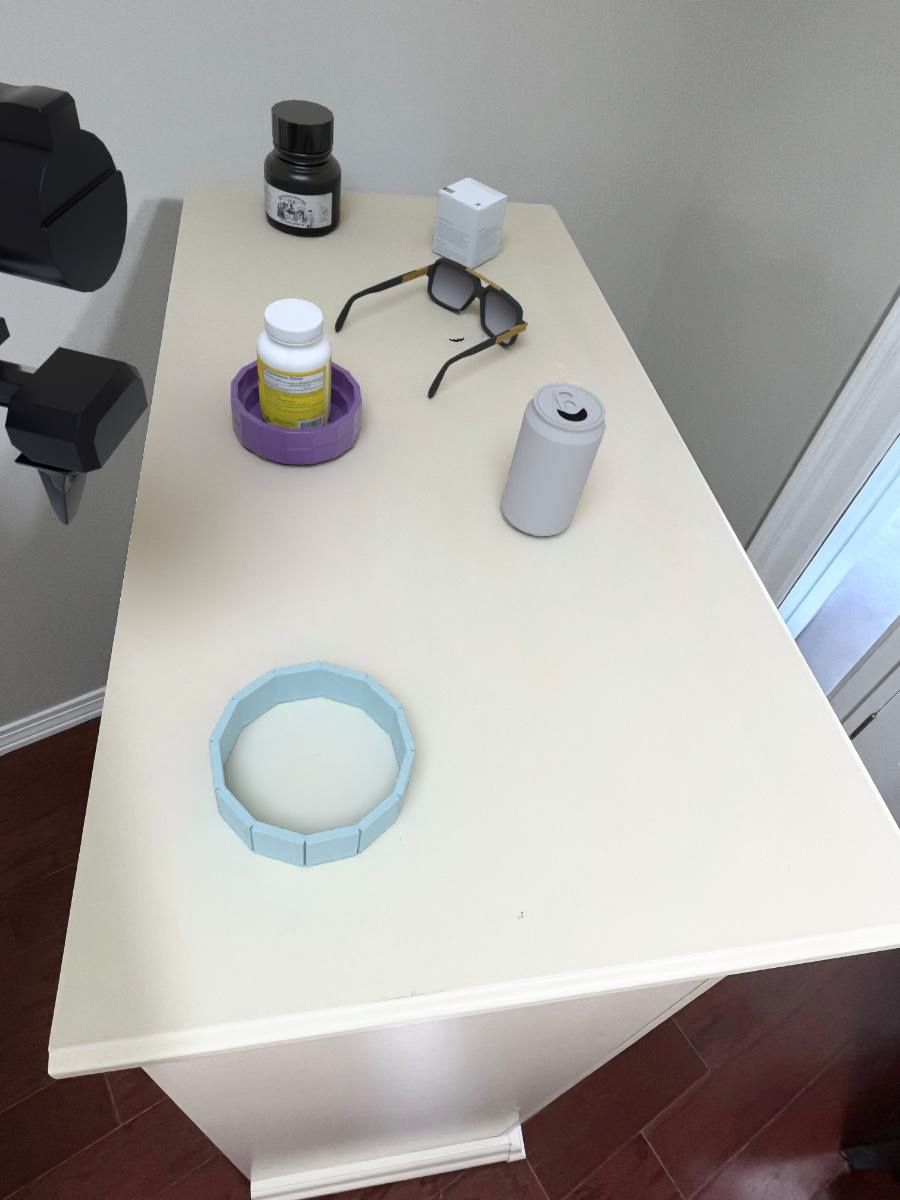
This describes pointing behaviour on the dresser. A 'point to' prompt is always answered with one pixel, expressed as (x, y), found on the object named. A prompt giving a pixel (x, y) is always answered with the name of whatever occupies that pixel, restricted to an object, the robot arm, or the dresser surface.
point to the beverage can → (553, 458)
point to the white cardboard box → (469, 222)
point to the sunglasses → (460, 304)
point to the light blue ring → (300, 686)
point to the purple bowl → (290, 441)
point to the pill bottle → (294, 366)
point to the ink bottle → (302, 170)
